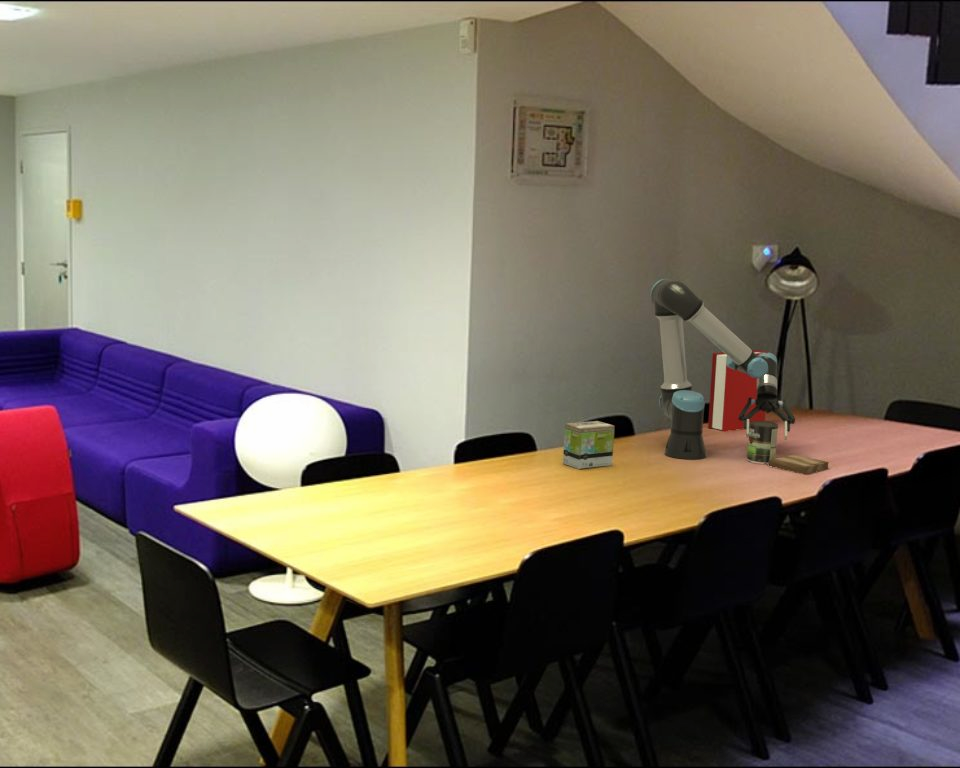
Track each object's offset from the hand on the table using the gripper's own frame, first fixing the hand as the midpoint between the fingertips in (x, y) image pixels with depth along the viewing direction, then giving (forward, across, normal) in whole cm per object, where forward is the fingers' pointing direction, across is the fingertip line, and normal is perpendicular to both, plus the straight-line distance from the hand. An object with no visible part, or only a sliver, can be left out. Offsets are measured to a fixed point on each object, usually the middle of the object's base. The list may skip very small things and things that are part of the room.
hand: (766, 436), depth 397 cm
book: (-37, +8, -51) cm, 64 cm away
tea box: (+26, +62, +14) cm, 69 cm away
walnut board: (+12, -11, 0) cm, 17 cm away
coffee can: (+8, +2, -5) cm, 9 cm away
